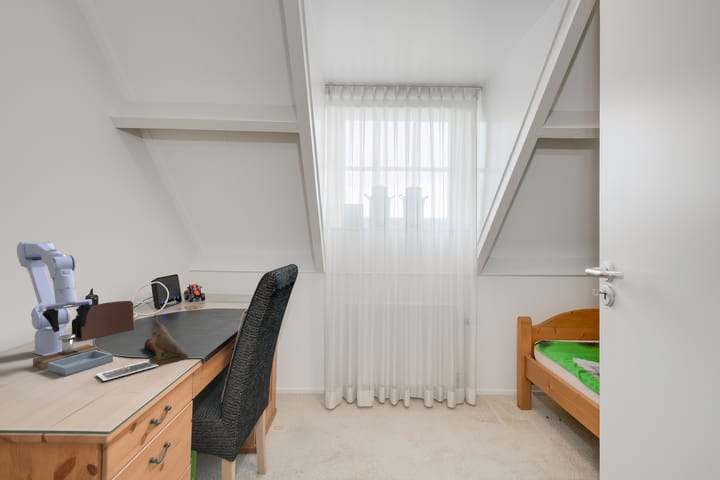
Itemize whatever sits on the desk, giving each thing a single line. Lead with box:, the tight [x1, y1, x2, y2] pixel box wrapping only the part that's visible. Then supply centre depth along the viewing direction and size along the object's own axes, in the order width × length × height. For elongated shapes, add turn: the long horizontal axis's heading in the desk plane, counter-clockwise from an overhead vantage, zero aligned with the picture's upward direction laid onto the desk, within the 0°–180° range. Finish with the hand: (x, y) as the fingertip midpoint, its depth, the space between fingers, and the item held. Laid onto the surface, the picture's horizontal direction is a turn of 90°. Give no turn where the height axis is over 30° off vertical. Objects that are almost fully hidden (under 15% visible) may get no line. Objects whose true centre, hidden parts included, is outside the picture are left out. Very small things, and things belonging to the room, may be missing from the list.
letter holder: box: [71, 300, 135, 342], centre depth 153 cm, size 10×20×14 cm, turn 147°
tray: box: [47, 350, 114, 377], centre depth 116 cm, size 11×14×2 cm
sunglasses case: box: [144, 337, 156, 355], centre depth 131 cm, size 18×7×7 cm
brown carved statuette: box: [148, 314, 189, 365], centre depth 120 cm, size 12×6×18 cm, turn 125°
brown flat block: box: [32, 344, 101, 371], centre depth 122 cm, size 8×16×2 cm, turn 154°
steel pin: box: [59, 333, 75, 356], centre depth 122 cm, size 4×4×8 cm
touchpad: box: [95, 359, 159, 382], centre depth 112 cm, size 8×15×2 cm, turn 141°
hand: (70, 329), depth 121 cm, fingers open, 7 cm apart
